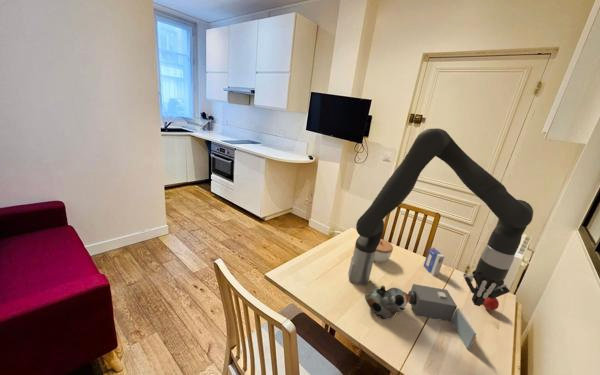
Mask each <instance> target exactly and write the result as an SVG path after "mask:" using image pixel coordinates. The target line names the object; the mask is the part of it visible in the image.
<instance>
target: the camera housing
mask: <svg viewBox="0 0 600 375" xmlns="http://www.w3.org/2000/svg"><path fill="white" fill-rule="evenodd" d="M411 286H412V287H411V288H410V290H409V291H408V293H407V294H410V296H409V301H408V304H410V308H411V309H412V312H413V315H414V316H417V317H423V318H427V319H434V320H439V321H444V322H449V323H451V321H452V318H453V316H454V313H455V311H456V308H458V306H457V304H456V302H455V300H454V299H453V297H452V296H451V294H450V293H449V290H448V289H444V288H439V287H431V286H426V285H421V284H416V283H413V284H412V285H411Z"/></svg>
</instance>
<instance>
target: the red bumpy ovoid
mask: <svg viewBox="0 0 600 375" xmlns="http://www.w3.org/2000/svg"><path fill="white" fill-rule="evenodd" d="M497 298H498V297H496V298H494V299H491V298H486V299H485V301H484V303H483V305H482V306H483V307H484V308H485V309H486V310H487V311H495V310H497V309H498V308H499V306H500V304H499V300H498V299H497Z"/></svg>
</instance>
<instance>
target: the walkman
mask: <svg viewBox="0 0 600 375" xmlns="http://www.w3.org/2000/svg"><path fill="white" fill-rule="evenodd" d="M444 259H445V255H444V254H442V253H441V252H440V251H439V250H438V249H437V248H435V247H429V248H428V251H427V254H426V257H425V260H424V264H423V267H424V269H425V270H426V271H427V272H428V273H429V274H430V275H431V276H433V277H437V276H439V274H440V271H441V268H442V264H443V262H444Z"/></svg>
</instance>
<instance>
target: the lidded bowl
mask: <svg viewBox="0 0 600 375" xmlns="http://www.w3.org/2000/svg"><path fill="white" fill-rule="evenodd" d="M393 250H394V246H393V244H392V243H391V242H389V241H388V240H385V239H383V238H381V240H380V243H379V245H378V247H377V248H376V252H375V256H374V261H373V262H375V263H377V264H378V263H379V264H381V263H384V262H386V261H387V260H389V259H390V257H391V255H392V252H393Z"/></svg>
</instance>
